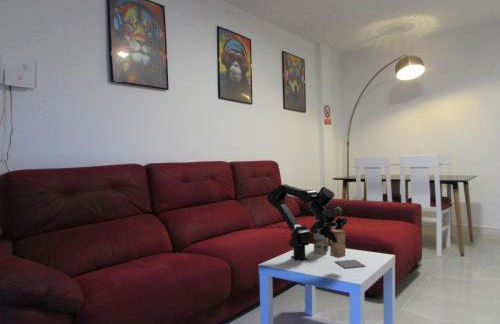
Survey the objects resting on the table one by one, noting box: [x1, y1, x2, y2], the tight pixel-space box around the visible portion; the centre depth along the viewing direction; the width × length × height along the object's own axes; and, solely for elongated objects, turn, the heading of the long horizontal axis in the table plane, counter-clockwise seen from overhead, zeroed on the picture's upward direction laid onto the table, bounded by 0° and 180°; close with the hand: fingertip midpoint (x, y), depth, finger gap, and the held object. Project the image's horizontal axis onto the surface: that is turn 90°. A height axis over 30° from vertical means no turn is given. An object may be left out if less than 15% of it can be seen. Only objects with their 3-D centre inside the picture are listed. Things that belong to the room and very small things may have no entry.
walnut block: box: [329, 229, 346, 259], centre depth 154 cm, size 4×4×11 cm
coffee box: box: [313, 219, 330, 255], centre depth 185 cm, size 9×6×16 cm
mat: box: [334, 259, 366, 269], centre depth 163 cm, size 10×10×1 cm
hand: (340, 241), depth 153 cm, fingers closed on walnut block, 4 cm apart
